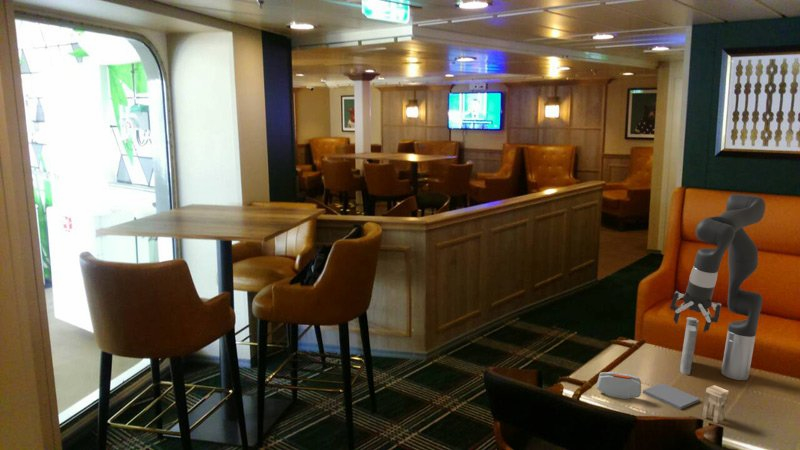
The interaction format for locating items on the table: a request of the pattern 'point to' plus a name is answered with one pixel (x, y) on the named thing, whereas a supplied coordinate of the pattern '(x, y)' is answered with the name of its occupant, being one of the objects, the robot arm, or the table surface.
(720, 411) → the beech stool
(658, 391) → the mat
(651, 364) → the table surface
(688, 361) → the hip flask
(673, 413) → the table surface
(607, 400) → the table surface
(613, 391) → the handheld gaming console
